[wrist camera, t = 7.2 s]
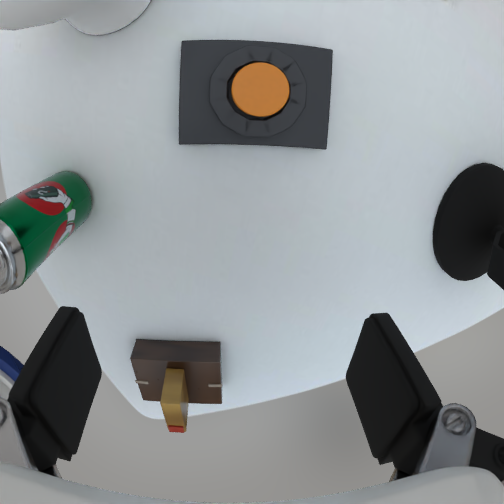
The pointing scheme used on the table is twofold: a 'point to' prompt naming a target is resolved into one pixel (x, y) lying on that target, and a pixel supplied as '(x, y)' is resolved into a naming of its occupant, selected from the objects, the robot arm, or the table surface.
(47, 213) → the soda can
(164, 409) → the lock knob
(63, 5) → the cup
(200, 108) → the block
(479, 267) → the microphone
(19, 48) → the table surface
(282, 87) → the bell button
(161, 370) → the plate
